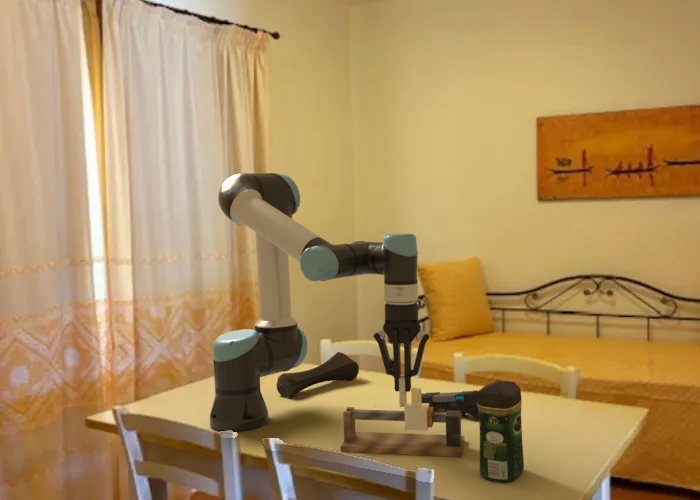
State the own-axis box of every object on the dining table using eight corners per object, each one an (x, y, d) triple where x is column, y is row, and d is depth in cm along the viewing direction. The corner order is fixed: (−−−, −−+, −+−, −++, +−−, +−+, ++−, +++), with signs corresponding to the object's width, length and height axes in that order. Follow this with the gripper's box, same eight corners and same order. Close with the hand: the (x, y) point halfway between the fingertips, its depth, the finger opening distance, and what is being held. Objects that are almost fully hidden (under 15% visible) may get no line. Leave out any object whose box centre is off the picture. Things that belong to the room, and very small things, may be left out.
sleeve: (405, 430, 151) (403, 391, 151) (408, 423, 156) (406, 385, 156) (427, 430, 150) (426, 392, 150) (429, 423, 155) (428, 386, 154)
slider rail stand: (340, 451, 153) (339, 413, 152) (350, 436, 162) (349, 400, 162) (461, 457, 146) (460, 417, 146) (464, 440, 156) (463, 403, 155)
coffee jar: (491, 462, 143) (489, 375, 142) (528, 468, 138) (526, 379, 137) (473, 478, 135) (471, 387, 133) (512, 486, 130) (510, 391, 129)
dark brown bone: (348, 383, 219) (283, 414, 200) (333, 354, 221) (268, 382, 202) (368, 372, 212) (302, 403, 192) (353, 342, 214) (286, 370, 194)
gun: (480, 422, 168) (467, 383, 169) (420, 434, 181) (409, 397, 182) (490, 418, 171) (477, 379, 172) (430, 429, 184) (419, 393, 186)
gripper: (370, 304, 150) (372, 409, 151) (427, 305, 147) (429, 411, 148) (376, 299, 157) (378, 399, 159) (431, 300, 154) (433, 401, 156)
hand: (403, 405), depth 153 cm, fingers closed
